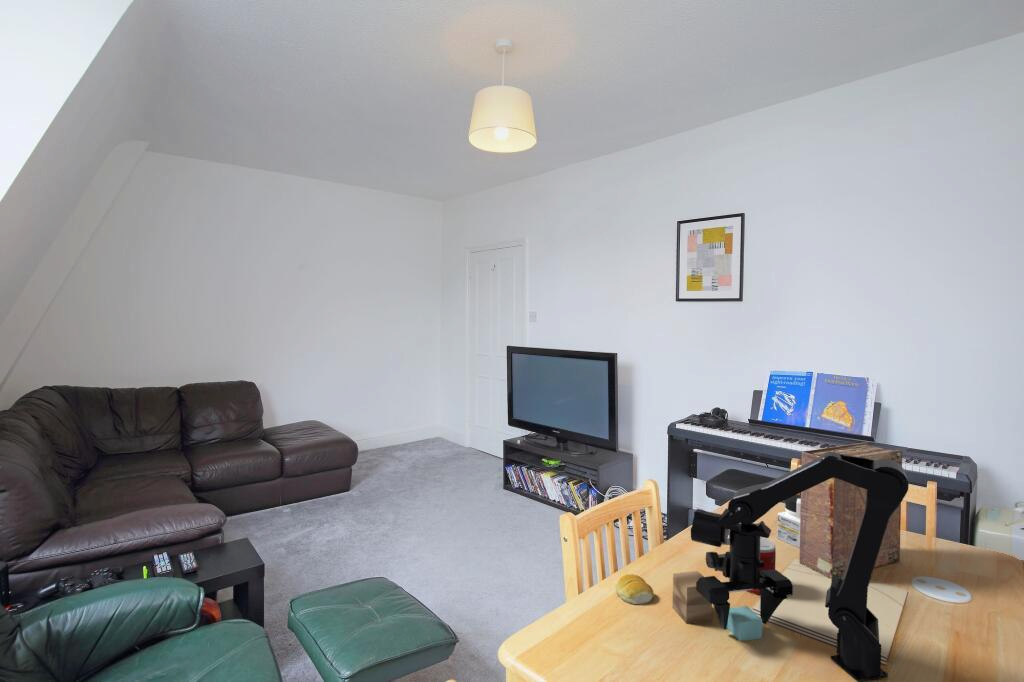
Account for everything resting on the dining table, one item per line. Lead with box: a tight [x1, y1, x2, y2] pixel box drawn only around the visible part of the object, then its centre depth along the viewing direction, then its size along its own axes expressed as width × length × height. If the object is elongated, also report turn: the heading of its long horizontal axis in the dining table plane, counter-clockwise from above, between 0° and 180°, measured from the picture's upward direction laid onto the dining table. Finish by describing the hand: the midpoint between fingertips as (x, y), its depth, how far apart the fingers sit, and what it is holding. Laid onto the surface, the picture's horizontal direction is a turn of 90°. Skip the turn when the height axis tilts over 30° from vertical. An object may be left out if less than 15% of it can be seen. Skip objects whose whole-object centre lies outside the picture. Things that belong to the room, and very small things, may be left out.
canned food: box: [747, 537, 777, 596], centre depth 123 cm, size 8×8×11 cm
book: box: [799, 441, 903, 580], centre depth 134 cm, size 25×9×30 cm, turn 111°
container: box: [776, 494, 801, 549], centre depth 148 cm, size 8×8×13 cm
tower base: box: [672, 590, 713, 625], centre depth 112 cm, size 6×6×4 cm
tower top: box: [672, 570, 709, 606], centre depth 112 cm, size 6×6×4 cm
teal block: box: [726, 605, 763, 642], centre depth 106 cm, size 5×5×4 cm
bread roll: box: [615, 573, 654, 605], centre depth 121 cm, size 8×9×4 cm
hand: (743, 625), depth 106 cm, fingers open, 9 cm apart
